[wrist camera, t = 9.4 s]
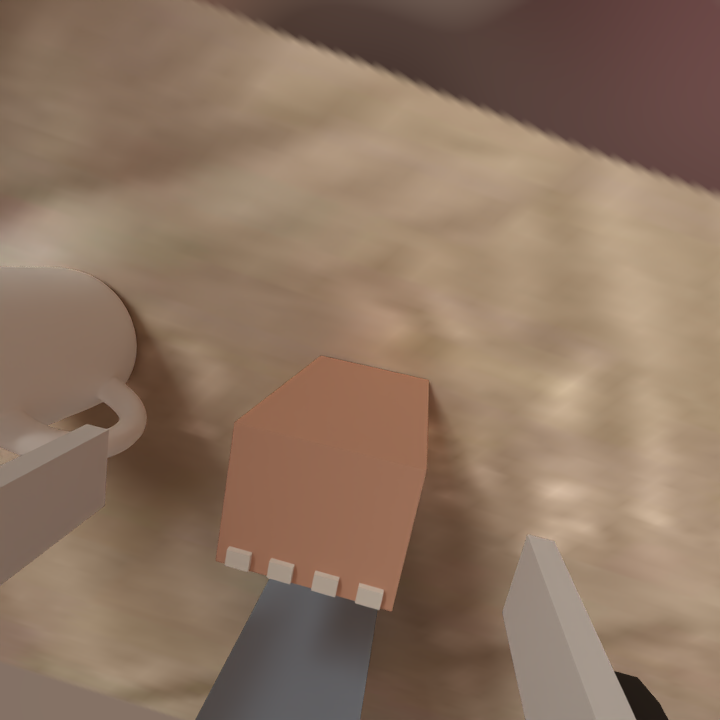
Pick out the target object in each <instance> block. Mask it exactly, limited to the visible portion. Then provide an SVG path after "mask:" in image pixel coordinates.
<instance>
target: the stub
mask: <svg viewBox="0 0 720 720" xmlns="http://www.w3.org/2000/svg"><path fill="white" fill-rule="evenodd" d="M428 399H429V380H427V379H423V378H418V377H414V376H409V375H405V374H400V373H396V372H392V371H387V370H383V369H378V368H374V367H369V366H365V365H361V364H356V363H352V362H347V361H343V360H338V359H334V358H330V357H325V356H320V357H318V358H317V359H316V360H314V361H313V362H312V363H311V364H309V365H308V366H307V367H305V368H304V369H303V370H301V371H300V372H299V373H298V374H296V375H295V376H294V377H292V378H291V379H290V380H289V381H287V382H286V383H285V384H283V385H282V386H281V387H279V388H278V389H277V390H276V391H274V392H273V393H272V394H270V395H269V396H268V397H267V398H265V399H264V400H263V401H261V402H260V403H259V404H257V405H256V406H255V407H254V408H252V409H251V410H250V411H248V412H247V413H246V414H245V415H243V416H242V417H241V418H239V419H238V420H237V421H235V423H234V430H233V437H232V445H231V452H230V459H229V467H228V474H227V481H226V489H225V496H224V504H223V511H222V518H221V526H220V533H219V540H218V548H217V555H216V561H218V562H221V563H224V564H225V566H228V567H231V568H235V569H238V570H242V571H245V572H248V571H252V572H256V573H259V574H263V575H266V576H267V578H270V579H273V580H276V581H280V582H283V583H287V584H290V583H294V584H297V585H301V586H304V587H308V588H311V591H315V592H318V593H321V594H325V595H328V596H332V597H335V596H339V597H342V598H346V599H349V600H353V601H355V603H356V604H360V605H363V606H367V607H370V608H373V609H377V610H380V608H381V609H384V610H388V611H391V612H392V609H393V605H394V601H395V597H396V593H397V589H398V585H399V580H400V576H401V572H402V568H403V564H404V560H405V556H406V552H407V548H408V544H409V540H410V536H411V532H412V528H413V524H414V520H415V516H416V512H417V508H418V504H419V500H420V496H421V492H422V488H423V483H424V479H425V475H426V471H427V441H428Z"/></svg>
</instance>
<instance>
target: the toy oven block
mask: <svg viewBox="0 0 720 720" xmlns="http://www.w3.org/2000/svg"><path fill="white" fill-rule="evenodd" d="M376 617H377V609H373V608H370V607H367V606H363V605H360V604H356V603H355V601H353V600H349V599H346V598H342V597H339V596H335V597H332V596H328V595H325V594H321V593H318V592H315V591H311V588H308V587H304V586H301V585H297V584H294V583H290V584H287V583H283V582H280V581H276V580H273V579H269V581H268V582H267V584H266V586H265V588H264V590H263V592H262V594H261V596H260V598H259V600H258V601H257V603H256V605H255V607H254V609H253V611H252V613H251V615H250V617H249V619H248V621H247V622H246V624H245V626H244V628H243V630H242V632H241V634H240V636H239V638H238V640H237V641H236V643H235V645H234V647H233V649H232V651H231V653H230V655H229V657H228V659H227V661H226V662H225V664H224V666H223V668H222V670H221V672H220V674H219V676H218V678H217V680H216V681H215V683H214V685H213V687H212V689H211V691H210V693H209V695H208V697H207V699H206V700H205V702H204V704H203V706H202V708H201V710H200V712H199V714H198V716H197V718H196V720H360V717H361V711H362V705H363V698H364V692H365V686H366V680H367V673H368V667H369V661H370V654H371V648H372V642H373V635H374V629H375V623H376Z"/></svg>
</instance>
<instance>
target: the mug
mask: <svg viewBox="0 0 720 720" xmlns="http://www.w3.org/2000/svg"><path fill="white" fill-rule="evenodd" d="M136 353H137V342H136V334H135V329H134V326H133V322H132V319H131V317H130V315H129V313H128V311H127V309H126V307H125V306H124V304H123V302H122V301H121V300H120V298H119V297H118V296H117V295H116V294H115V293H114V292H113V291H112V289H110V288H109V287H108V286H107V285H106V284H104V283H103V282H102V281H100V280H98V279H97V278H95V277H94V276H91V275H89V274H87V273H84V272H81V271H78V270H74V269H68V268H61V267H9V266H0V447H2V448H4V449H6V450H8V451H10V452H13V453H15V454H18V455H21V456H22V455H24V454H26V453H28V452H30V451H32V450H34V449H36V448H38V447H40V446H42V445H44V444H46V443H48V442H51V441H53V440H55V439H57V438H59V437H61V436H63V435H65V434H67V433H69V432H70V431H64V430H60V429H56V428H53V427H50V426H48V425H50V424H52V423H55V422H57V421H60V420H62V419H64V418H67V417H69V416H72V415H74V414H77V413H80V412H82V411H85V410H87V409H89V408H92V407H94V406H96V405H98V404H100V403H102V402H104V403H105V404H107V405H108V406H109V407H111V408H112V409H113V410H114V411H115V412H116V414H117V415H118V416H119V421H118V423H116V424H115V425H114V426H112V427H110V428H107V429H109V436H108V455H107V458H109V457H112V456H114V455H117V454H119V453H121V452H123V451H125V450H126V449H128V448H129V447H130V446H132V445H133V444H134V443H135V442H136V441H137V440H138V439H139V437H140V436H141V435H142V433H143V431H144V430H145V426H146V421H147V415H146V410H145V407H144V405H143V402H142V401H141V399H140V398H139V396H138V395H137V394H136V393H135V392H134V391H133V390H132V389H131V388H130V387H129V386H127V385H126V384H125V383H126V382H127V380H128V379H129V377H130V375H131V373H132V370H133V367H134V364H135V360H136Z"/></svg>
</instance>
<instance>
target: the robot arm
mask: <svg viewBox="0 0 720 720" xmlns="http://www.w3.org/2000/svg"><path fill="white" fill-rule="evenodd" d="M108 436H109V429H105V428H101V427H97V426H93V425H89V424H86V425H84V426H82V427H80V428H77V429H75V430H73V431H71V432H69V433H67V434H65V435H63V436H61V437H59V438H57V439H55V440H53V441H51V442H48V443H46V444H44V445H42V446H40V447H38V448H36V449H34V450H32V451H30V452H28V453H26V454H24V455H22V456H19V457H17V458H15V459H13V460H11V461H9V462H7V463H5V464H3V465H1V466H0V585H2V584H3V583H4V582H5V581H7V580H8V579H9V578H11V577H12V576H13V575H15V574H16V573H17V572H19V571H20V570H21V569H22V568H24V567H25V566H26V565H28V564H29V563H30V562H32V561H33V560H34V559H36V558H37V557H38V556H40V555H41V554H42V553H43V552H45V551H46V550H47V549H49V548H50V547H51V546H53V545H54V544H55V543H57V542H58V541H59V540H60V539H62V538H63V537H64V536H66V535H67V534H68V533H70V532H71V531H72V530H74V529H75V528H76V527H77V526H79V525H80V524H81V523H83V522H84V521H85V520H87V519H88V518H89V517H91V516H92V515H93V514H94V513H96V512H97V511H98V510H100V509H101V508H102V507H104V506H105V492H106V473H107V455H108ZM502 614H503V619H504V623H505V628H506V632H507V637H508V642H509V646H510V651H511V656H512V660H513V665H514V669H515V674H516V679H517V683H518V688H519V692H520V697H521V702H522V706H523V711H524V716H525V720H668V718H667V716H666V715H665V713H664V711H663V709H662V707H661V705H660V703H659V702H658V701H657V700H656V699H655V697H654V696H653V695H652V694H651V693H650V692H649V690H648V689H647V688H646V687H645V686H644V685H643V683H642V682H641V681H640V680H639V679H638V678H637V677H634V676H630V675H626V674H623V673H619V672H615V671H614V670H613V668H612V666H611V664H610V661H609V659H608V657H607V655H606V653H605V650H604V648H603V646H602V644H601V642H600V640H599V637H598V635H597V633H596V631H595V629H594V626H593V624H592V622H591V620H590V618H589V615H588V613H587V611H586V609H585V607H584V605H583V602H582V600H581V598H580V596H579V594H578V591H577V589H576V587H575V585H574V583H573V581H572V578H571V576H570V574H569V572H568V570H567V567H566V565H565V563H564V561H563V559H562V557H561V554H560V552H559V550H558V548H557V546H556V543H555V541H552V540H548V539H544V538H540V537H536V536H532V535H528V534H527V537H526V540H525V543H524V546H523V550H522V553H521V556H520V559H519V562H518V565H517V568H516V571H515V574H514V577H513V580H512V584H511V587H510V590H509V593H508V596H507V599H506V602H505V605H504V608H503V611H502Z"/></svg>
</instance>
